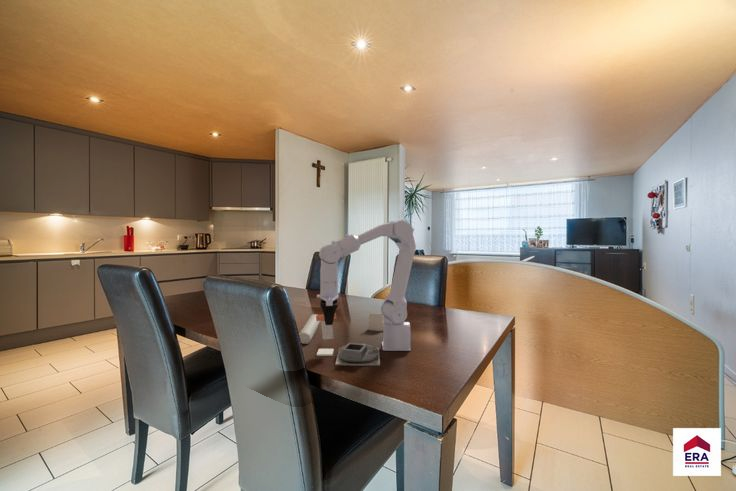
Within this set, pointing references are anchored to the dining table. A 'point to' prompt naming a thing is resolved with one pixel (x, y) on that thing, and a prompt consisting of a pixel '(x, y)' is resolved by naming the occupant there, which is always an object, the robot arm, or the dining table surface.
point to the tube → (309, 329)
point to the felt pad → (325, 352)
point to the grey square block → (375, 321)
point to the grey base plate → (358, 353)
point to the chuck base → (371, 363)
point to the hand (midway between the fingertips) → (329, 323)
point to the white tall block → (325, 327)
